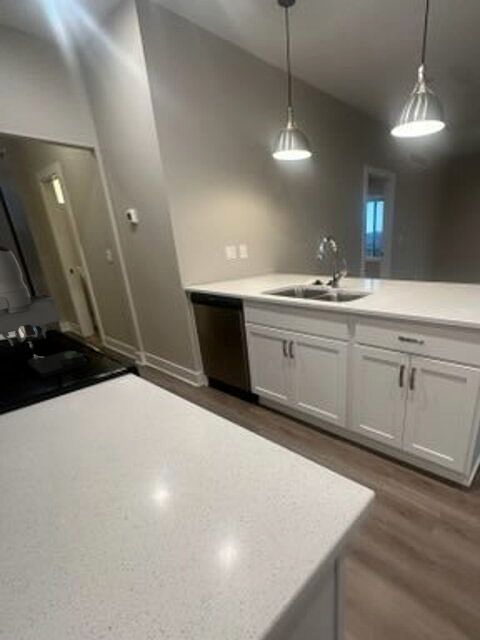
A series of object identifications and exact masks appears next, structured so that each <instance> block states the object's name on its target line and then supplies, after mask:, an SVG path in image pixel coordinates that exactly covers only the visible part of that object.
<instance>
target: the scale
mask: <svg viewBox="0 0 480 640" xmlns="http://www.w3.org/2000/svg"><path fill="white" fill-rule="evenodd" d="M71 351H72V350H65V351H61V352H57V353H55V354H50V355H47V356H44V357H43V358H39V359H36V360H32V361H28V360H27V364H28V366H29V367H30V368H31V369H33V370H34V371H35V372H36V373H37V374H38V375H39V376H40V377H42V378H43V379H44V378H48V377H51V376H54V375H58V374H61V373H64V372H68V371H71V370H73V369H74V370H75V369H77V368H80V367H84V366H86V365H87V366H88V365H89V361H88V360H87V358H85V355H84V353H82V352H77V355H78V356H77V357H75V358H71V359H66V358H65V355H64V354H65V353H67V352H71Z"/></svg>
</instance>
